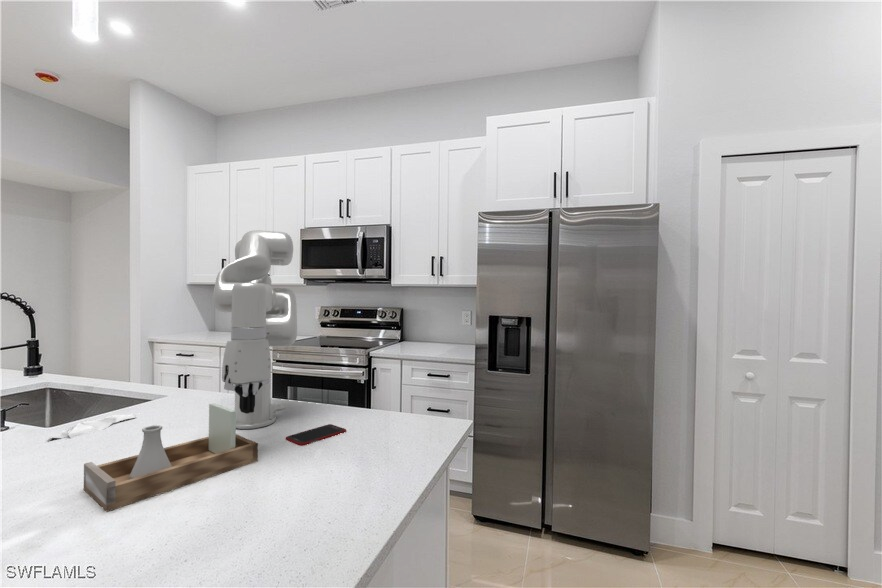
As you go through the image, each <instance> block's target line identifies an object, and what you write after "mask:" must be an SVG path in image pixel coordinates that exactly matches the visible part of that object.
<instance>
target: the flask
mask: <svg viewBox="0 0 882 588" xmlns="http://www.w3.org/2000/svg"><path fill="white" fill-rule="evenodd" d="M161 430H163V425H157V424H156V425H155V424H154V425H148V426H145V427H143V428H142V429H141V432H142V433H143V439H142V444H141V449H140V451H139V453H138V455H139V456H138V458H137V460H136V463H135V465H134V467H133V469H132V472H131V474H130V476H129V479H133V478H136V477H139V476H143V475H146V474H149V473H153V472H156V471H160V470H163V469H166V468H170V467H172V466H171V464H170V461H169V459H168V457H167V455H166V453H165V450H164V448H165V447H164V445H163V443H162V442H163V441H162V437H161ZM129 479H128V480H129Z"/></svg>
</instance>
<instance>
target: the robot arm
mask: <svg viewBox="0 0 882 588" xmlns="http://www.w3.org/2000/svg"><path fill="white" fill-rule="evenodd" d="M293 255H294V242H293V239H292V237H291V236H290V234H288V233H287V232H284V231H276V230H275V231H273V230H272V231H271V230H258V229H257V230H254V229H253V230H249V231H246V233H245V234H243V236H242V237H241V240H239V241H238V242H236V244H235V247H234V259H235V260H233V261H231V262H230V263H228V264H226V265H225V266H224V267H222V268H221V269H220V271H219V272H218V273H217V275H216V279H215V282H214V283H215V284H214V287H213V288H214V289H213V294H212V301H213V305H214V307H215V309H216V310H217V311H219V312H221V313H231V314H230V316H231V317H230V318H231V319H230V325H231V326H230V340H227V341H226V343H225V344H226V345H225V349H224V353H223V360H222V370H221V380H222V382H223V383H224V386H223V390H226V391H233V392H234V411H236V429H239V430H240V429H241V430H248V429H249V430H252V429H259V428H263V427H267V426H270V425H272V424H274V423H275V422H276V420H277V419H276V418H277V416H276V415H275V414H276V413H277V412H280V411H284V410H286V404H285V403H280V404H276V403H273V404H272V403H271V394H272V393H271V386H272V385H271V384H272V383H271V381H272V379H271V378H272V374H271V373H272V362H271V361H272V359H271V357H272V356H271V349H270V348H271V347H287V346H292V345H293V344H294V343H295V342H296V341H297V336H298V315H297V313H298V311H297V309H298V308H297V297H296V294H295V292H294V291H293V290H292V289H290V288H287V287H272V279H271V277H270V276H269V272H270V271H271V268H272V267H271V266H280V267H281V266H288V265H290V264H291V262H292V261H293Z"/></svg>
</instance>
